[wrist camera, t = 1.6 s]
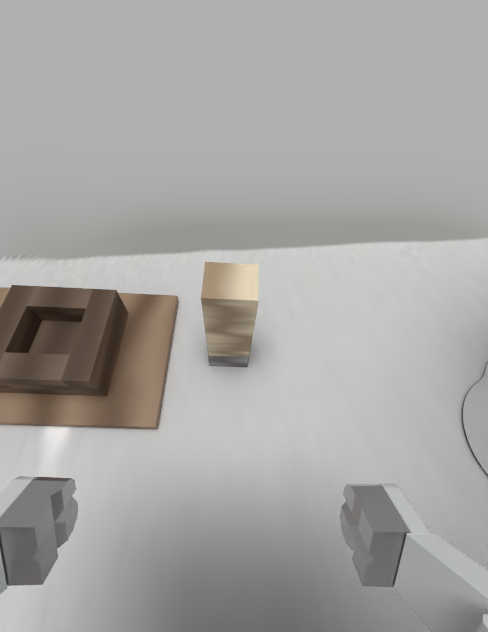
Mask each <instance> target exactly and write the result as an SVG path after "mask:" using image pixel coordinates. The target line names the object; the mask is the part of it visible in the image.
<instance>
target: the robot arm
mask: <svg viewBox="0 0 488 632" xmlns="http://www.w3.org/2000/svg"><path fill="white" fill-rule="evenodd" d="M463 423H464V429H465V433H466V436H467V439H468V442H469V444H470V446H471V449H472V451H473V453H474V455H475V456H476V458H477V460H478V462H479V463H480V465H481V466H482V468H483V469H484V470H485V472H486V473H487V474H488V363H487V365H486V369H485V373H484V376H483V378H482V379H481V380H480V381H479V382H477V383H476V384H475V385H474V386H473V387H472V388H471V389H470V391H469V392H468V394H467V396H466V398H465V401H464V406H463ZM75 490H76V485H75V480H74V479H71V478H51V477H22V476H20V477H18V478H16V479H14V480H13V481H12V482H11V483H10V484H9V485H8V486H7V487H6V488H5V489H4V491H3V492H2V493H1V494H0V594H1V593H2V592H3V591H4V590H5V589H7V586H11V585H43V583H44V581H45V580H46V578H47V576H48V574H49V572H50V571H51V569H52V567H53V565H54V564H55V562H56V560H57V558H58V552H57V548H59V547H60V546H61V545H62V544H64V543H65V542H66V541H67V540H68V538H69V537H70V535H71V533H72V531H73V528H74V525H75V522H76V519H77V513H78V504H77V501H76V500H75V499H74V498H73V497H72V495H73V494H74V492H75ZM344 497H345V499H346V502H345V503H344V504H343V505H342V506H341V514H340V519H341V528H342V532H343V536H344V539H345V541H346V544H347V545H348V546H349V547H350V548H351V549H352V550H354V553H353V559H352V560H353V563H354V565H355V568H356V571H357V573H358V576H359V578H360V581H361V584H362V586H382V587H394V590H395V591H396V592H397V593H398V595H399V596H400V597H401V598H402V599H403V600H404V601H405V602H406V603H407V605H408V606H409V607H410V608H411V609H412V610H413V611H414V612H415V614H416V615H417V616H418V617H419V618H420V619H421V620H422V621H423V623H424V624H425V625H426V626H427V627H428V628H429V629H430V630H431V631H432V632H488V571H487V570H486V569H485V568H483V567H482V566H480V565H479V564H478V563H476V562H475V561H474V560H472V559H471V558H469V557H468V556H467V555H465V554H464V553H462V552H461V551H460V550H458V549H457V548H455V547H454V546H453V545H451V544H450V543H448V542H447V541H446V540H444V539H443V538H442V537H440V536H439V535H437V534H431V533H430V531H429V530H428V528H427V527H426V525H425V524H424V523H423V521H422V520H421V518H420V517H419V515H418V514H417V512H416V511H415V509H414V508H413V507H412V505H411V504H410V502H409V501H408V499H407V498H406V496H405V495H404V493H403V492H402V491H401V489H400V488H399V487H398V486H397V485H396V484H347V485H346V486H345V489H344Z"/></svg>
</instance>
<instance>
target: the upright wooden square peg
mask: <svg viewBox="0 0 488 632" xmlns="http://www.w3.org/2000/svg"><path fill="white" fill-rule="evenodd" d="M201 301H202V309H203V317H204V325H205V333H206V341H207V349H208V357H209V365H210V366H231V367H247V365H248V359H249V354H250V348H251V342H252V336H253V330H254V324H255V319H256V313H257V307H258V301H259V291H258V265H254V264H234V263H215V262H205V269H204V277H203V286H202V295H201Z"/></svg>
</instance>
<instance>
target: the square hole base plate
mask: <svg viewBox="0 0 488 632" xmlns="http://www.w3.org/2000/svg"><path fill="white" fill-rule="evenodd" d="M177 307H178V297H177V296H170V295H149V294H128V293H118V292H117V291H116V290H103V289H82V288H61V287H40V286H19V285H12V286H11V288H0V424H5V425H37V426H69V427H101V428H133V429H158V424H159V418H160V412H161V406H162V399H163V393H164V387H165V381H166V375H167V369H168V362H169V356H170V350H171V344H172V338H173V331H174V325H175V319H176V313H177Z"/></svg>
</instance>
